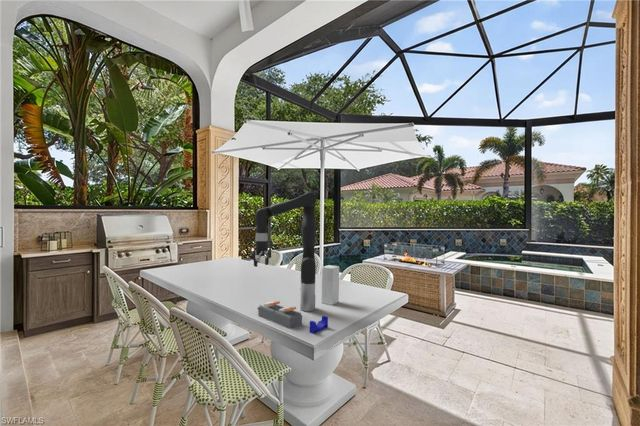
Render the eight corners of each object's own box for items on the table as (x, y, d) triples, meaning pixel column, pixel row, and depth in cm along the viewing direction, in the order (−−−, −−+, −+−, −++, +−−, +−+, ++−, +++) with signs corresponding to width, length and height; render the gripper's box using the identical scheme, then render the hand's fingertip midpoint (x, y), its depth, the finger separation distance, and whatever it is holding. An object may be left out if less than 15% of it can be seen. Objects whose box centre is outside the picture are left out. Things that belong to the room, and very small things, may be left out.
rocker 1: (263, 305, 181) (263, 303, 182) (270, 304, 185) (270, 302, 185) (273, 305, 176) (273, 303, 176) (279, 303, 179) (279, 301, 179)
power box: (252, 313, 186) (252, 303, 186) (264, 309, 192) (264, 300, 192) (290, 328, 163) (290, 317, 163) (302, 324, 170) (302, 313, 170)
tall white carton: (321, 302, 209) (322, 266, 209) (328, 299, 216) (328, 264, 216) (332, 305, 204) (333, 268, 204) (338, 302, 212) (339, 266, 211)
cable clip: (321, 325, 169) (321, 314, 169) (327, 327, 166) (328, 316, 166) (307, 331, 160) (307, 320, 159) (313, 334, 157) (314, 322, 157)
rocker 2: (279, 311, 172) (278, 309, 172) (285, 309, 176) (285, 307, 176) (289, 311, 166) (289, 308, 166) (296, 308, 170) (296, 306, 170)
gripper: (266, 238, 199) (266, 263, 200) (248, 240, 189) (248, 266, 189) (274, 239, 194) (273, 265, 195) (256, 241, 184) (255, 268, 184)
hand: (261, 265), depth 192 cm, fingers open, 8 cm apart
